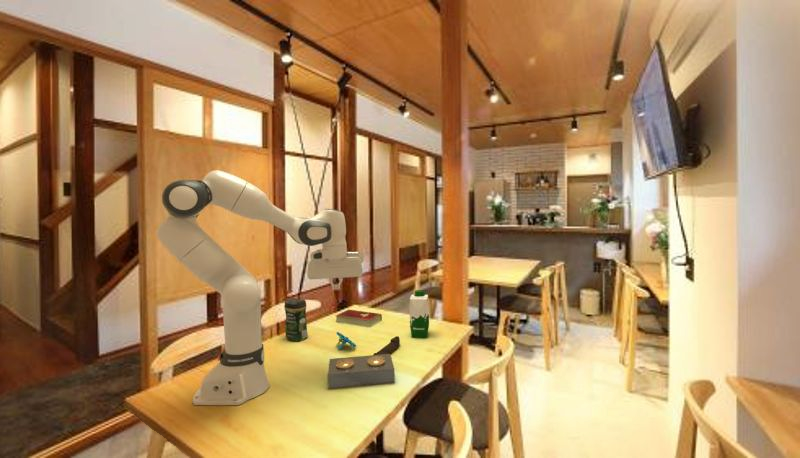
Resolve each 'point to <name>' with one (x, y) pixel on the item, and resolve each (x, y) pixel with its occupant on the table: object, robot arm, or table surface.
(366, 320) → the hardcover book
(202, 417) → the table surface
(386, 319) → the table surface
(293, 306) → the coffee jar
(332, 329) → the table surface
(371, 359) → the tan dome cap
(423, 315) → the milk carton
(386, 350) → the hand tool
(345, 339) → the teal cog wheel
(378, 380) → the block
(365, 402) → the table surface
